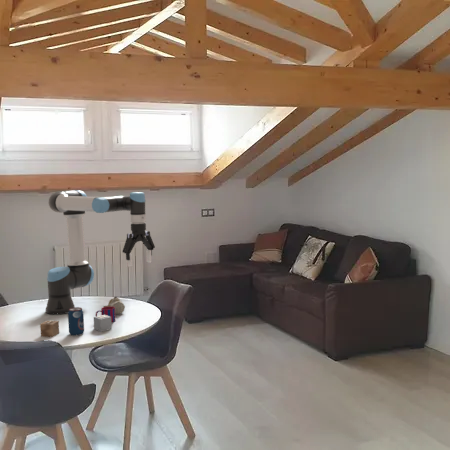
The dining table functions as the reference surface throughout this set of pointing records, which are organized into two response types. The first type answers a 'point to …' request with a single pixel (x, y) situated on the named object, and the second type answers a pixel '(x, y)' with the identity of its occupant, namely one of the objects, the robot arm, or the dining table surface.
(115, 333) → the dining table surface
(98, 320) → the slate numbered block
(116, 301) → the ceramic sculpture
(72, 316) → the soda can
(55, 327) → the walnut numbered block
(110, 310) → the mug
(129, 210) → the robot arm
